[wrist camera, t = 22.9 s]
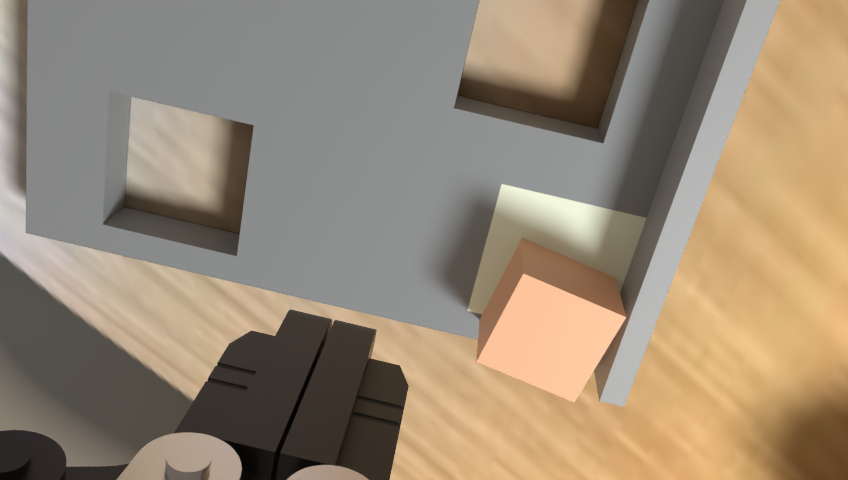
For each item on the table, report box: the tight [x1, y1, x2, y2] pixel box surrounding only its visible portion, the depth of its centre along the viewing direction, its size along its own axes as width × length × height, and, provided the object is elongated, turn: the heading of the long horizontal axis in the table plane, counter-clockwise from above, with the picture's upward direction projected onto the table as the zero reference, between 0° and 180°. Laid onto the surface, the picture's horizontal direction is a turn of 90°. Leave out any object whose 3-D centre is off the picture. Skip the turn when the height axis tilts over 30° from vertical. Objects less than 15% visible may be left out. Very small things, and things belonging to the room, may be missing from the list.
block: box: [477, 238, 626, 402], centre depth 38 cm, size 5×5×4 cm
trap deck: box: [26, 0, 780, 407], centre depth 37 cm, size 31×20×6 cm, turn 78°
